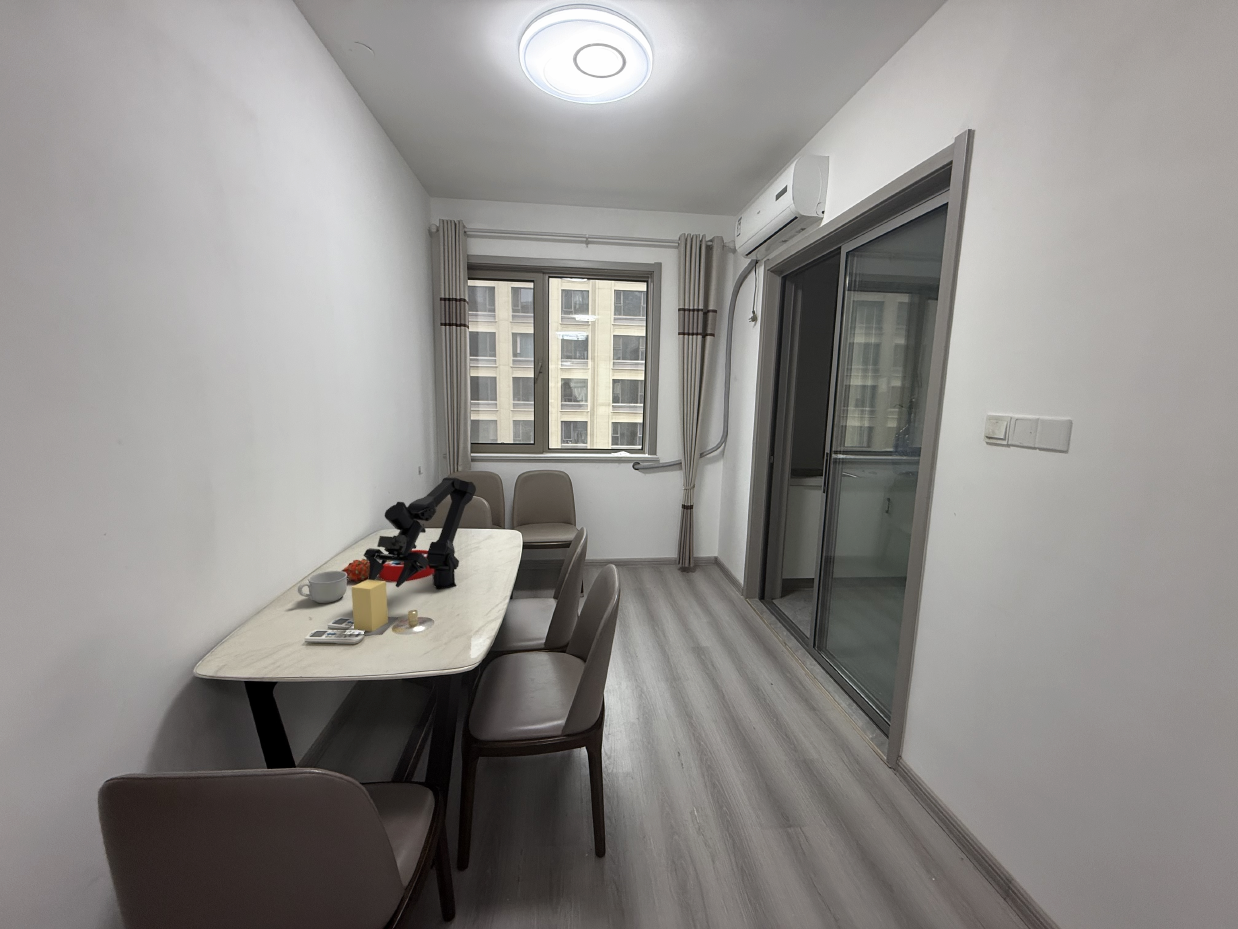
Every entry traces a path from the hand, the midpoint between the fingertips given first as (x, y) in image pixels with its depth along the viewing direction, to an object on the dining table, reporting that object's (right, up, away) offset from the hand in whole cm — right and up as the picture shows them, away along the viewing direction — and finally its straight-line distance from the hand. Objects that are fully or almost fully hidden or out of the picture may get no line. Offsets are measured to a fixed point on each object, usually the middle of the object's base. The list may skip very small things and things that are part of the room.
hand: (383, 585), depth 138 cm
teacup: (-27, -9, +16) cm, 32 cm away
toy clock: (-11, -6, +43) cm, 45 cm away
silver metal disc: (+10, -11, -4) cm, 15 cm away
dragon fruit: (-25, -7, +33) cm, 42 cm away
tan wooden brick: (-1, -10, -4) cm, 11 cm away
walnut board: (+4, -11, -4) cm, 13 cm away
